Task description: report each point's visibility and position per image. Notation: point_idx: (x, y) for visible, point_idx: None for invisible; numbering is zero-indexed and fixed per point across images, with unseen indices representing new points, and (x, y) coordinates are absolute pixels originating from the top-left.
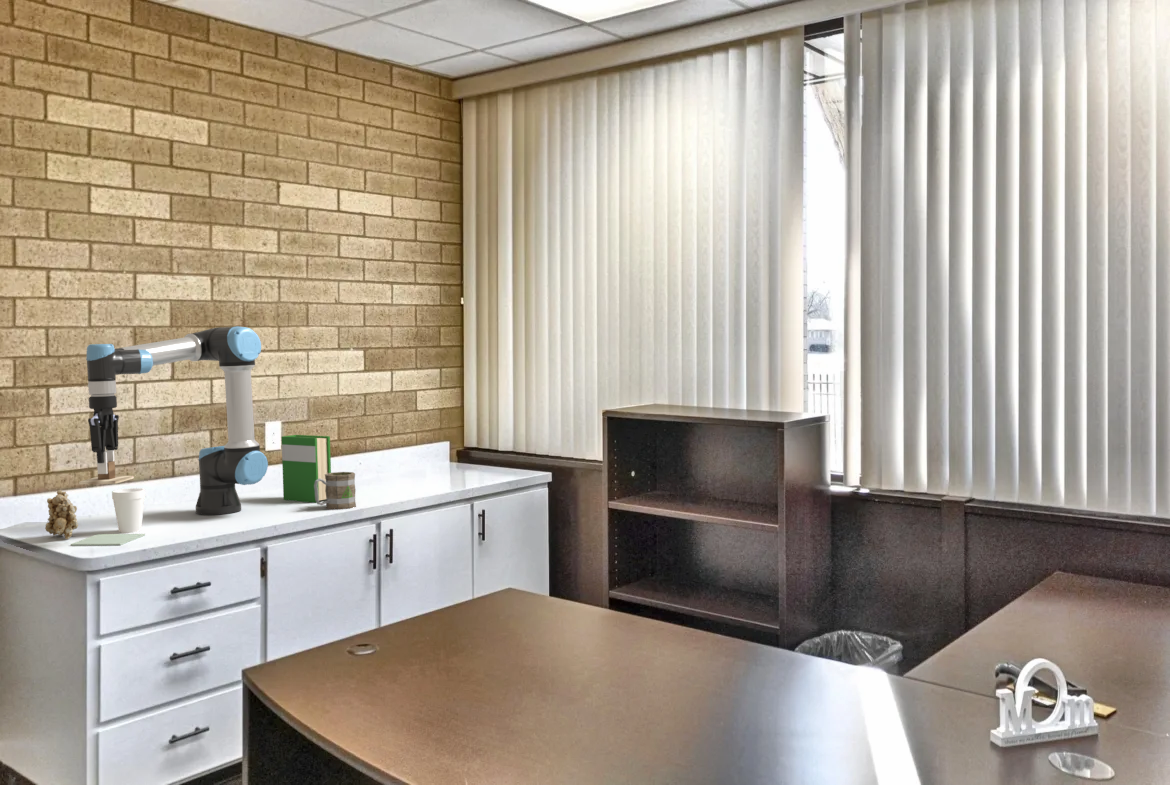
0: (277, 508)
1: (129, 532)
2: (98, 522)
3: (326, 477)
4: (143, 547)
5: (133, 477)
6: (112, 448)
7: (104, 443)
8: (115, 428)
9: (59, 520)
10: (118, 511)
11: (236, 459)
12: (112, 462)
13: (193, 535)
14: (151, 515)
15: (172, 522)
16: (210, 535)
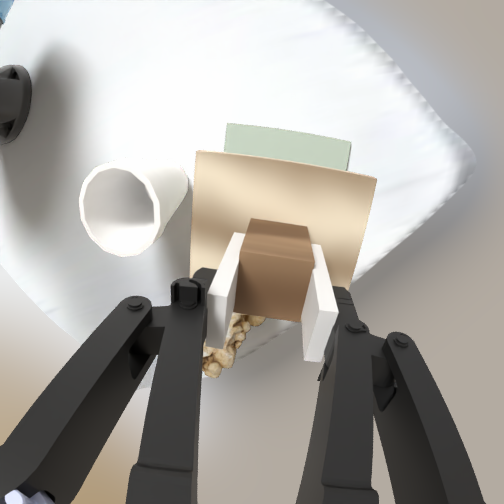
0: (9, 21)
1: (186, 176)
2: (85, 284)
3: None
4: (382, 83)
5: (201, 150)
6: (203, 312)
7: (349, 365)
8: (71, 423)
9: (262, 318)
10: (172, 213)
11: None
12: (267, 253)
13: (248, 11)
14: (29, 213)
15: (81, 132)
16: None
